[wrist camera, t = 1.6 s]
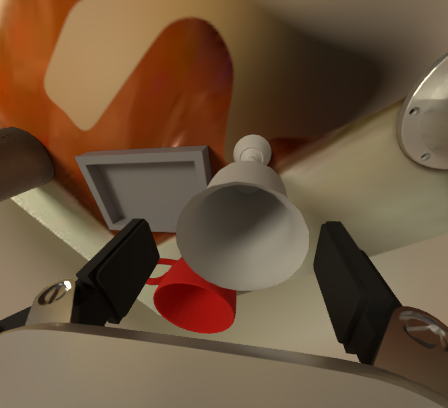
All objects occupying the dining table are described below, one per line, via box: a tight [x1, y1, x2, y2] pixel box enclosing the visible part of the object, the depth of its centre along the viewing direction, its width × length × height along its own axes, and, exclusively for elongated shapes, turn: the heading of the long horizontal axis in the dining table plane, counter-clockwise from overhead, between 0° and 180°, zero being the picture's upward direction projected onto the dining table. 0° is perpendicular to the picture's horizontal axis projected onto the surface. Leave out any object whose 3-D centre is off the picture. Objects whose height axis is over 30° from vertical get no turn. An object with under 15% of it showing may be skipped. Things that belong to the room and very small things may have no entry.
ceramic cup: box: [145, 258, 236, 334], centre depth 32 cm, size 13×17×10 cm
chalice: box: [176, 135, 309, 291], centre depth 17 cm, size 7×7×18 cm
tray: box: [75, 145, 212, 233], centre depth 29 cm, size 19×13×3 cm
